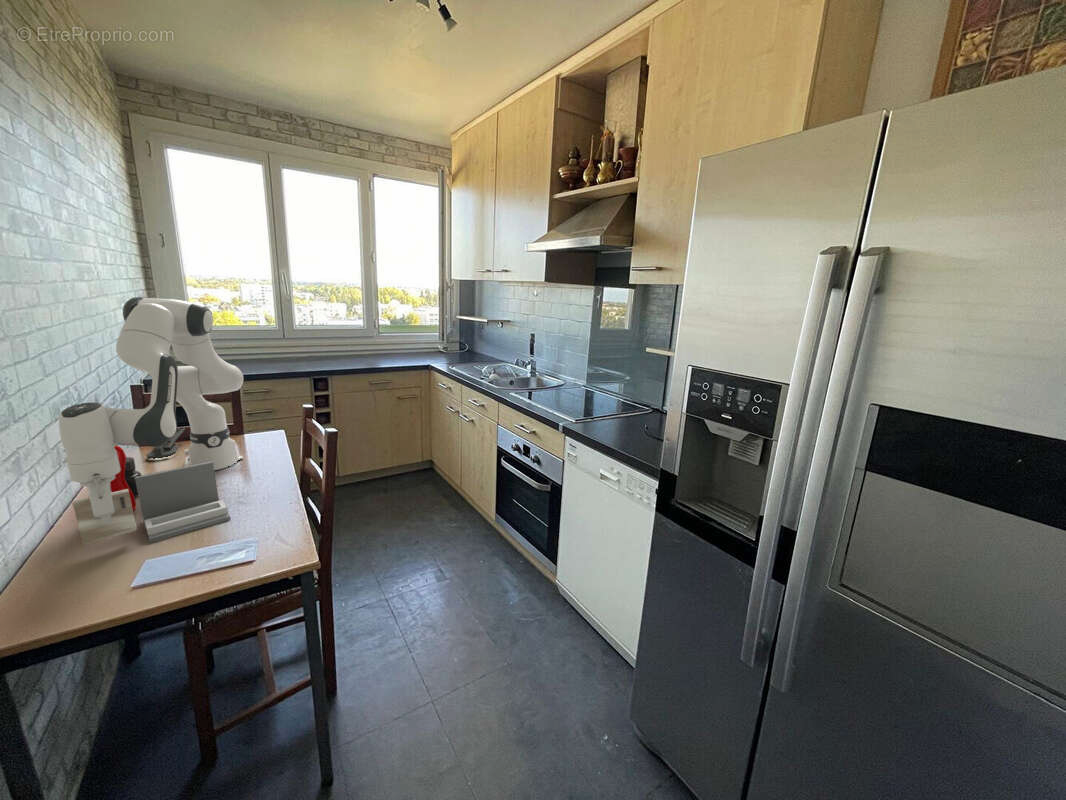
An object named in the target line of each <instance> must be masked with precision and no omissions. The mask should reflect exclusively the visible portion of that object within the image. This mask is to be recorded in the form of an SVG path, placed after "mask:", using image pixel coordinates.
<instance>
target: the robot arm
mask: <svg viewBox="0 0 1066 800" xmlns="http://www.w3.org/2000/svg"><path fill="white" fill-rule="evenodd" d="M122 317H123V321H124V323H123V325H122V327H121V330H120V333H119V335H118V338H117V341H116V345H115V346H116V347H115V351H116V354H117V356H118V358H119V359H120V360H121V361H122V362H123V363H125V365H127V366H129V367H131V368H133V369H135V370H137V371H140V372H143V373H145V374H148V375H150V376H151V379H152V381H151V392H150V403H149V405H148V406H147V407H145V408H115V407H113V408H112V407H107V406H104V405H103V404H102V403H99V402H82V403H78V404H74V405H71V406H68V407H66V408H64V409H63V410H61V412H60V413H59V417H58V419H59V420H58V428H59V430H58V431H59V436H60V440H61V444H62V447H63V448H64V449H65V451H66V463H67V465H66V466H67V468H68V473H69V476H70V480H71V481H72V482H74V483H79V485H80V486H81V487H87V492H88V493H87V494H88V496H89V498H90V502H91V507H92V511H93V515H94V517H96V518H98V517H101V520H102V523H104V524H105V523H109V522H111V521H112V517H111V514H113V513H114V512H115V508H114V503H113V498H112V492H111V485H110V481H112V480H114V479H115V475H116V474H118V473H119V472H120V471H121V468H120V464H119V459H118V455H117V451H116V450H115V448H114V447H115V446H142V447H153V448H154V447H159V446H162V445H164V444H166V443H167V442H168V441H170V440H171V439H172V438H173V437H174V435H175V434H176V432H178V431H177V428H178V422H177V421H178V420H177V415H176V414H177V413H176V411H177V410H176V409H177V408H176V407H177V403H179V405H181V407H182V408H183V409H184V411H185V413H186V416H187V419H188V423H189V427H190V432H189V438H190V445H189V447H188V449H185V450H184V454H185V456H187V457H185V461H184V466H183V467H185V466H190V465H195V464H200V463H205V462H210V461H212V462H213V465H214V471H217V470H222V469H226V468H228V466H229V467H232V466H233V465H235V464H236V463H238V462H239V461H238V460H240V459H242V458H243V459H244V457H243V455H240V454H238V450H237V445H236V444H237V443H236V441H235V440H234V439H233V438H230V430H229V427H228V425H227V420H226V419H227V418H226V412H225V410H224V408H223V407H222V406H221V405H219V404H217V403H214V402H211V401H208V400H206V399H205V397H204V395H205V396H206V395H219V394H227V393H231V392H235V391H236V392H237V391H239V390H240V389H241V387H242V386H243V383H244V374H243V372H242V371H241V369H240V368H238V366H236V365H233V364H231V363H229V362H227V361H225V360H224V359H222V357H220V356H219V355H218V354H217V352H216V351H215V348H214V346H213V343H212V340H211V339H212V338H211V335H210V332H211V330H212V329H213V325H214V318H213V317H214V316H213V313H212V311H211V309H209V307H207V306H206V305H204V304H202V303H198V302H189V301H185V300H181V299H180V300H179V299H174V298H173V299H172V298H161V297H160V298H158V297H157V298H156V297H147V296H135V297H131V298H130V299H128V300H127V301H126V302H125V303H124V304H123V308H122ZM171 347H172V351H173V355H174V357H175V358H176V359H177V360H178V361H179V362H181V363H182V364H185V365H181V366H180V365H178V364H177V360H176V359H175V358H174V357H172V356H171V353H170V350H171ZM243 459H242V460H243ZM237 461H238V462H237ZM240 461H241V460H240ZM234 463H235V464H234ZM102 497H103V498H102ZM99 498H102V499H99Z"/></svg>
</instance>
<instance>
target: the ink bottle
mask: <svg viewBox="0 0 1066 800" xmlns="http://www.w3.org/2000/svg"><path fill="white" fill-rule="evenodd" d="M141 475H142V473H141V472H140V471H138V470H136V463H135V458H134V457H130V456H128V457H127V456H126V464H125V481H126V482H127V484H128V486H129V488H130V490H131V491H132V493H133V495H134V498H136V497H139V496H138V491H137V486H136V481H135V477H136V476H141Z"/></svg>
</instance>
